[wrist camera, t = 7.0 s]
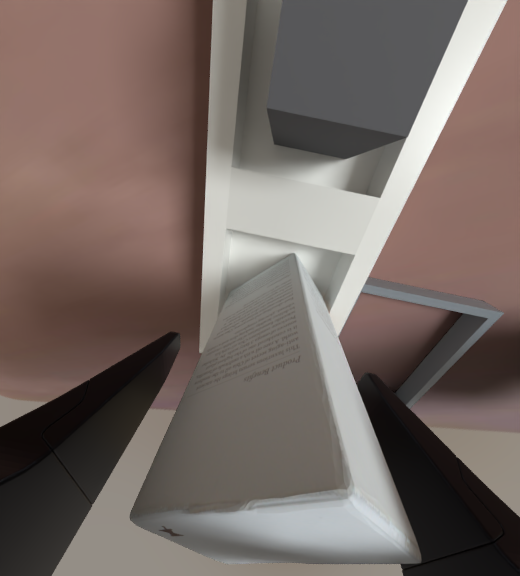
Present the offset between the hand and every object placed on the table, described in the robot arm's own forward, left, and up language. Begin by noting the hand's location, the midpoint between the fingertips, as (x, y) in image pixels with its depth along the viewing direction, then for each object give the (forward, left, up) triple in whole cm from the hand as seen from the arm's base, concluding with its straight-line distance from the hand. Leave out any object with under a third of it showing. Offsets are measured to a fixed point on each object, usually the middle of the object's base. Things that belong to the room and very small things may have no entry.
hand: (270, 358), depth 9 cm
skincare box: (0, 0, -7) cm, 7 cm away
